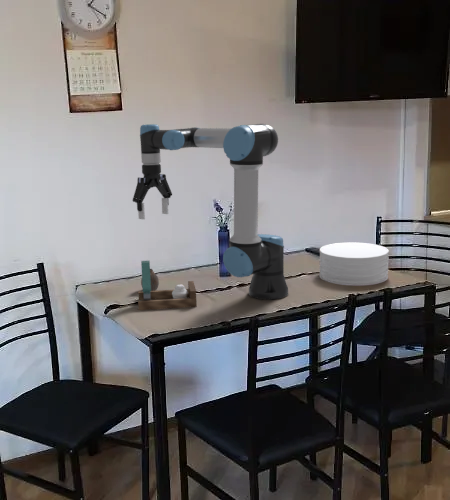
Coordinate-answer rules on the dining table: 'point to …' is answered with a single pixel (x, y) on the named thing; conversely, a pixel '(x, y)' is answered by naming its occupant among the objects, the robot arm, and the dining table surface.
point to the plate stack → (354, 263)
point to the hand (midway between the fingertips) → (153, 216)
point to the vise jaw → (146, 279)
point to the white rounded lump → (179, 292)
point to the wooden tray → (168, 299)
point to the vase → (153, 281)
